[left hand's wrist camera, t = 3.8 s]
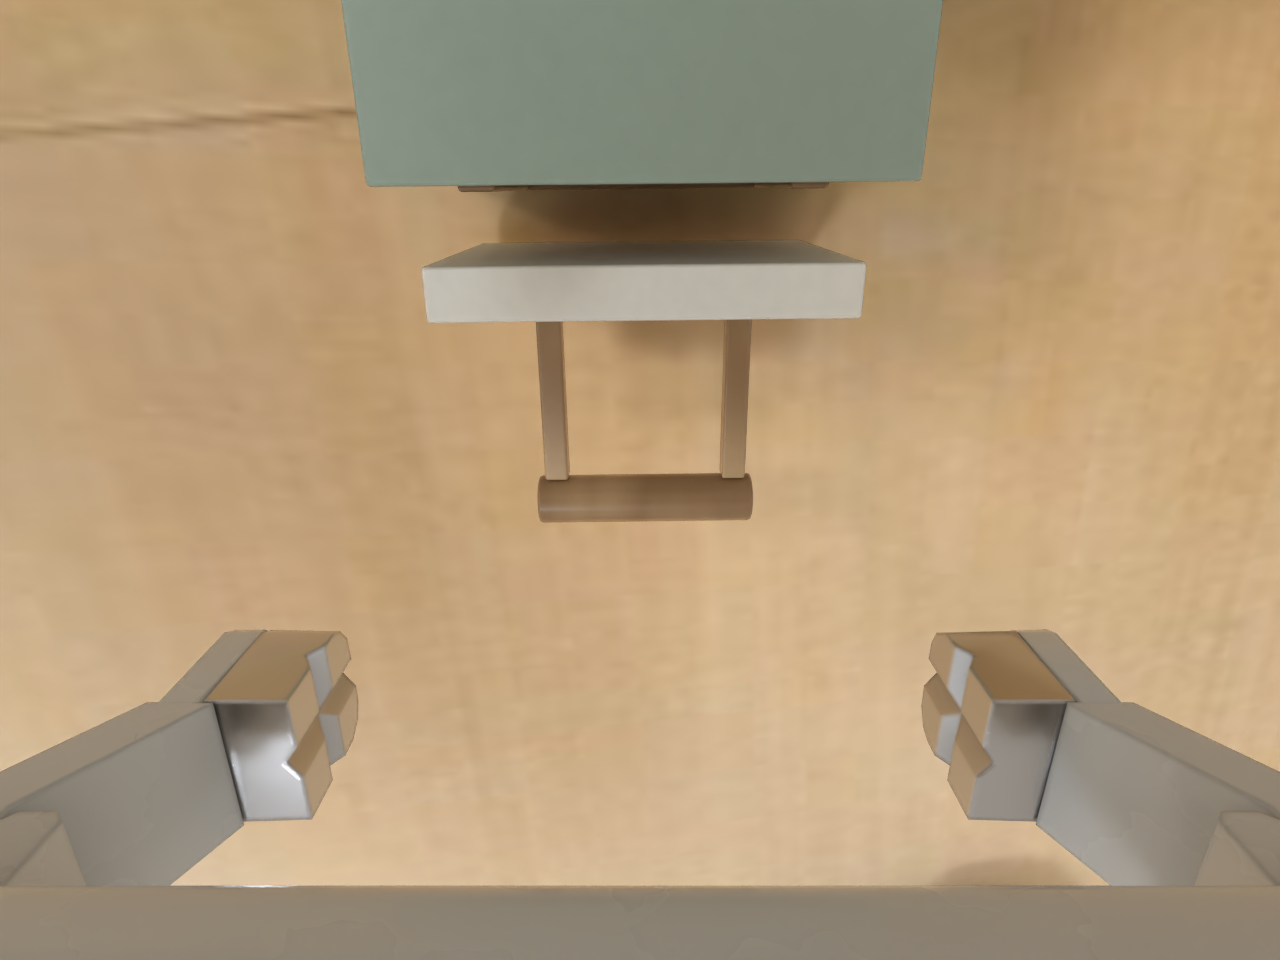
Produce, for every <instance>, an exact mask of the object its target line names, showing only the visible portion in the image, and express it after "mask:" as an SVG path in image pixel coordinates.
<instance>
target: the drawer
mask: <svg viewBox="0 0 1280 960" xmlns="http://www.w3.org/2000/svg"><path fill="white" fill-rule="evenodd" d="M828 184H829V182H779V183H684V184H588V185H493V186H458V189H459V191H461V192H493V191H512V190H546V189H642V188H737V187H762V188H826V187H828ZM865 274H866V263H865V262H862V261H859V260H856V259H853V258H850V257H848V256H845V255H842V254H839V253H836V252H833V251H830V250H827V249H824V248H821V247H818V246H815V245H812V244H809V243H806V242H803V241H800V240H739V241H646V242H554V243H483V244H480V245H478V246H475V247H473V248H470V249H468V250H465V251H463V252H460V253H458V254H455V255H453V256H450V257H448V258H445V259H443V260H440V261H438V262H435V263H433V264H430V265H427V266H425V267H423V268H422V279H423V287H424V296H425V305H426V314H427V320H428V322H430V323H473V322H536V332H537V348H538V364H539V381H540V397H541V413H542V430H543V446H544V462H545V475H543V476H541V477H540V479H539V483H538V513H539V518H540V520H541V522H544V523H545V522H626V521H707V520H748V519H750V517H751V514H752V507H753V490H752V481H751V477H750V475H749V474H748V473H745V454H746V432H747V410H748V388H749V366H750V344H751V322H752V319H829V318H859V317H861V314H862V304H863V294H864V284H865ZM651 320H724V348H723V379H722V410H721V441H720V472H721V473H700V474H617V475H569V472H570V465H569V444H568V423H567V402H566V382H565V361H564V340H563V321H651Z"/></svg>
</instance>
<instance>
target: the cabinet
mask: <svg viewBox="0 0 1280 960" xmlns="http://www.w3.org/2000/svg"><path fill="white" fill-rule="evenodd" d="M341 2H342V9H343V17H344V24H345V31H346V39H347V46H348V53H349V61H350V68H351V75H352V83H353V90H354V97H355V105H356V112H357V119H358V127H359V134H360V141H361V149H362V156H363V163H364V171H365V178H366V183H367V185H368V186H370V187H397V186H493V185H588V184H684V183H779V182H875V181H918V180H920V179H921V177H922V169H923V161H924V152H925V144H926V136H927V128H928V119H929V111H930V103H931V95H932V86H933V78H934V70H935V62H936V53H937V45H938V37H939V29H940V20H941V12H942V4H943V0H341Z"/></svg>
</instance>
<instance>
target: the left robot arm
mask: <svg viewBox="0 0 1280 960" xmlns="http://www.w3.org/2000/svg"><path fill="white" fill-rule="evenodd" d="M350 660H351V655H350V650H349V646H348V641H347V638H346V637H345V636H344V635H343V634H342V633H341V632H336V631H287V630H270V631H267V630H233V631H229V632H225V633H224V634H223V635H222V636H221V637H220V638H219V639H218V640H217V641H216V642H215V643H214V644H213V646H212V647H211V648H210V649H209V650H208V651H207V652H206V653H205V654H204V655H203V656H202V657H201V658H200V659H199V660H198V661H197V662H196V664H195V665H194V666H193V667H192V668H191V669H190V670H189V671H188V672H187V673H186V674H185V675H184V676H183V677H182V678H181V679H180V681H179V682H178V683H177V684H176V685H175V686H174V687H173V688H172V689H171V690H170V691H169V692H168V693H167V694H166V695H165V696H164V697H163V699H162V700H161V701H160V702H159V703H145V704H143V705H140V706H138V707H136V708H134V709H132V710H130V711H128V712H126V713H124V714H121V715H119V716H117V717H115V718H113V719H111V720H109V721H107V722H105V723H102V724H100V725H98V726H96V727H94V728H92V729H90V730H88V731H85V732H83V733H81V734H79V735H77V736H75V737H73V738H71V739H69V740H66V741H64V742H62V743H60V744H58V745H56V746H54V747H52V748H50V749H47V750H45V751H43V752H41V753H39V754H37V755H35V756H33V757H30V758H28V759H26V760H24V761H22V762H20V763H18V764H16V765H14V766H11V767H9V768H7V769H5V770H3V771H1V772H0V960H1280V772H1279V771H1277V770H1275V769H1272V768H1270V767H1268V766H1266V765H1264V764H1262V763H1260V762H1258V761H1256V760H1253V759H1251V758H1249V757H1247V756H1245V755H1243V754H1241V753H1239V752H1237V751H1234V750H1232V749H1230V748H1228V747H1226V746H1224V745H1222V744H1220V743H1218V742H1215V741H1213V740H1211V739H1209V738H1207V737H1205V736H1203V735H1201V734H1199V733H1196V732H1194V731H1192V730H1190V729H1188V728H1186V727H1184V726H1182V725H1180V724H1177V723H1175V722H1173V721H1171V720H1169V719H1167V718H1165V717H1163V716H1161V715H1159V714H1156V713H1154V712H1152V711H1150V710H1148V709H1146V708H1144V707H1142V706H1140V705H1137V704H1135V703H1121V702H1120V701H1119V700H1118V698H1117V697H1116V696H1115V695H1114V694H1113V693H1112V692H1111V691H1110V690H1109V689H1108V688H1107V687H1106V686H1105V685H1104V684H1103V683H1102V681H1101V680H1100V679H1099V678H1098V677H1097V676H1096V675H1095V674H1094V673H1093V672H1092V671H1091V670H1090V669H1089V668H1088V667H1087V666H1086V664H1085V663H1084V662H1083V661H1082V660H1081V659H1080V658H1079V657H1078V656H1077V655H1076V654H1075V653H1074V652H1073V651H1072V650H1071V649H1070V648H1069V646H1068V645H1067V644H1066V643H1065V642H1064V641H1063V640H1062V639H1061V638H1060V637H1059V636H1058V635H1057V634H1056V633H1054V632H1052V631H1049V630H1047V629H1045V630H1017V631H994V632H949V633H936V635H935V637H934V639H933V641H932V644H931V649H930V655H929V660H930V661H931V663H932V665H933V666H934V668H935V670H936V671H937V673H936V674H935V675H934V676H933V677H932V678H931V679H930V680H929V681H928V682H927V683H926V684H925V685H924V691H923V698H922V718H923V727H924V731H925V734H926V737H927V741H928V743H929V745H930V747H931V749H932V751H933V753H934V755H935V756H937V757H938V758H940V759H941V760H942V761H944V762H945V763H947V764H948V765H950V768H949V774H948V779H947V780H948V782H949V784H950V786H951V788H952V790H953V792H954V793H955V795H956V797H957V799H958V801H959V803H960V805H961V807H962V809H963V810H964V812H965V814H966V816H967V818H968V819H969V820H1005V821H1036V825H1037V826H1038V827H1040V828H1041V829H1042V830H1043V831H1044V832H1046V833H1047V834H1048V835H1049V836H1051V837H1052V838H1053V839H1054V840H1055V841H1057V842H1058V843H1059V844H1060V845H1062V846H1063V847H1064V848H1065V849H1067V850H1068V851H1069V852H1070V853H1071V854H1073V855H1074V856H1075V857H1076V858H1078V859H1079V860H1080V861H1081V862H1082V863H1084V864H1085V865H1086V866H1087V867H1089V868H1090V869H1091V870H1092V871H1094V872H1095V873H1096V874H1097V875H1098V876H1100V877H1101V878H1102V879H1103V880H1105V881H1106V882H1107V883H1108V884H1110V885H1111V886H169V885H171V884H172V883H173V882H174V881H176V880H177V879H178V878H179V877H181V876H182V875H183V874H184V873H185V872H187V871H188V870H189V869H190V868H192V867H193V866H194V865H195V864H197V863H198V862H199V861H200V860H201V859H203V858H204V857H205V856H206V855H208V854H209V853H210V852H211V851H213V850H214V849H215V848H216V847H217V846H219V845H220V844H221V843H222V842H224V841H225V840H226V839H227V838H229V837H230V836H231V835H232V834H233V833H235V832H236V831H237V830H238V829H240V828H241V827H242V826H243V825H244V822H243V821H274V820H309V819H312V818H313V816H314V814H315V813H316V811H317V809H318V807H319V805H320V803H321V801H322V799H323V797H324V795H325V794H326V792H327V790H328V788H329V786H330V784H331V782H332V780H333V779H332V774H331V768H330V765H332V764H333V763H335V762H336V761H338V760H339V759H340V758H342V757H343V756H345V755H346V753H347V751H348V749H349V747H350V745H351V743H352V741H353V738H354V734H355V729H356V725H357V720H358V696H357V690H356V685H355V684H354V683H353V682H352V681H351V680H350V679H349V678H348V677H347V676H346V675H345V674H344V673H343V671H344V670H345V668H346V666H347V665H348V663H349V661H350Z"/></svg>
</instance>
